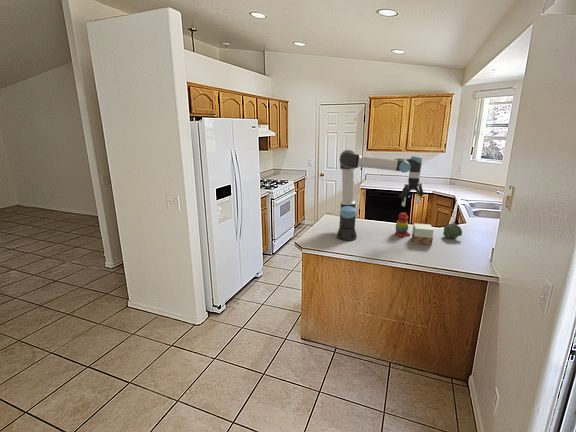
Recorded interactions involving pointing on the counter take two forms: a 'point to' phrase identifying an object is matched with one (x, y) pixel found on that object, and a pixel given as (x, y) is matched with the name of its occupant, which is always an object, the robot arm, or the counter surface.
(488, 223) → the counter surface
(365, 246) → the counter surface
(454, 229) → the vegetable
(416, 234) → the upper slab
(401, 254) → the counter surface
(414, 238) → the lower slab
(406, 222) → the stacking bear
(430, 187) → the counter surface
